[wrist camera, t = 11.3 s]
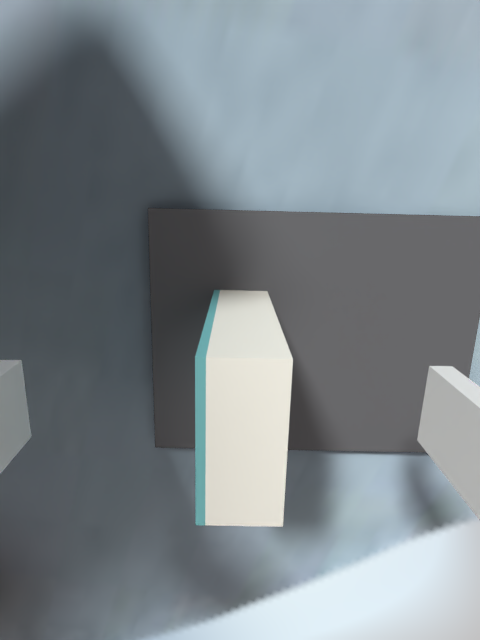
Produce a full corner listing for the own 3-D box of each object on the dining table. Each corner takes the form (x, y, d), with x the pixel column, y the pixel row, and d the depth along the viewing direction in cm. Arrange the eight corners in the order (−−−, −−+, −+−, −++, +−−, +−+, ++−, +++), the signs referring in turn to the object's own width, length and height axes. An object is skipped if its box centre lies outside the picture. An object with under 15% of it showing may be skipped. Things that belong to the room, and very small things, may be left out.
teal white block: (213, 390, 22) (195, 525, 13) (214, 289, 21) (195, 357, 11) (263, 390, 23) (282, 526, 13) (267, 291, 21) (293, 359, 11)
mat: (157, 441, 24) (155, 447, 23) (150, 208, 21) (147, 208, 20) (450, 446, 24) (455, 452, 24) (489, 216, 21) (497, 216, 20)
